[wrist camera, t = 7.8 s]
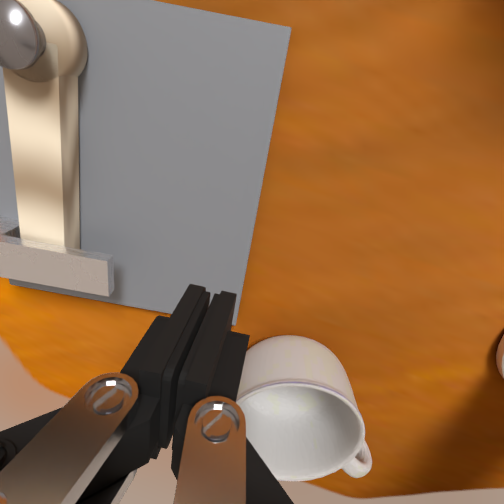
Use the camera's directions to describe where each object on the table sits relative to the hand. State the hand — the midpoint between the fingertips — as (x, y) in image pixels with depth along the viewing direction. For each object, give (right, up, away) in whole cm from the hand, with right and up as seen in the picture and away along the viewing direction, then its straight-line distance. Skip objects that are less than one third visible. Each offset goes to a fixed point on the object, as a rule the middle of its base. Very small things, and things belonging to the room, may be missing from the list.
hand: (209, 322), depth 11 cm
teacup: (+6, -9, +20) cm, 23 cm away
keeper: (-13, +3, +15) cm, 20 cm away
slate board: (-8, +8, +13) cm, 17 cm away
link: (-12, +9, +11) cm, 19 cm away
